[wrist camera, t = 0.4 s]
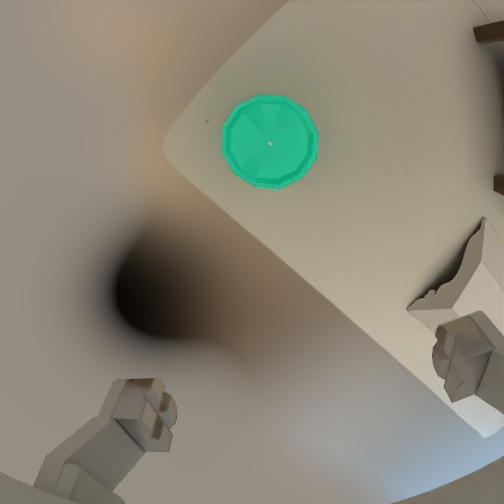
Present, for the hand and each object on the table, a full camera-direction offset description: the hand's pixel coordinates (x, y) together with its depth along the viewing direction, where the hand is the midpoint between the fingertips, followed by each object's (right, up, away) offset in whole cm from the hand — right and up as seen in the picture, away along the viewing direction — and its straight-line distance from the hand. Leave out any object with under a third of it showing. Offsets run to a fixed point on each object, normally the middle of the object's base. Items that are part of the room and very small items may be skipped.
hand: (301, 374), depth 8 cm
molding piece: (+36, -6, +28) cm, 46 cm away
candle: (0, +14, +20) cm, 24 cm away
